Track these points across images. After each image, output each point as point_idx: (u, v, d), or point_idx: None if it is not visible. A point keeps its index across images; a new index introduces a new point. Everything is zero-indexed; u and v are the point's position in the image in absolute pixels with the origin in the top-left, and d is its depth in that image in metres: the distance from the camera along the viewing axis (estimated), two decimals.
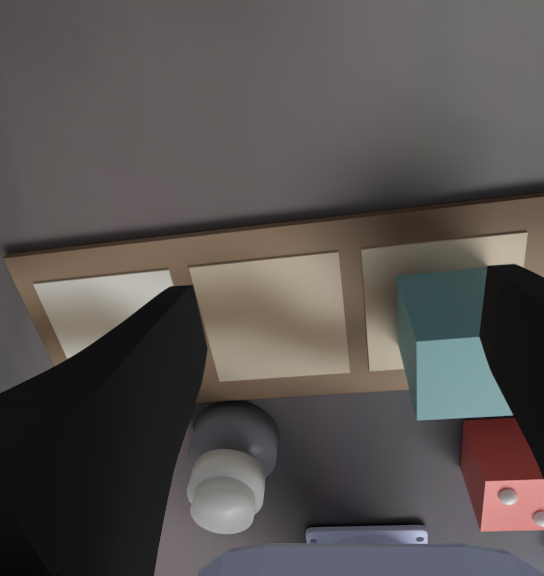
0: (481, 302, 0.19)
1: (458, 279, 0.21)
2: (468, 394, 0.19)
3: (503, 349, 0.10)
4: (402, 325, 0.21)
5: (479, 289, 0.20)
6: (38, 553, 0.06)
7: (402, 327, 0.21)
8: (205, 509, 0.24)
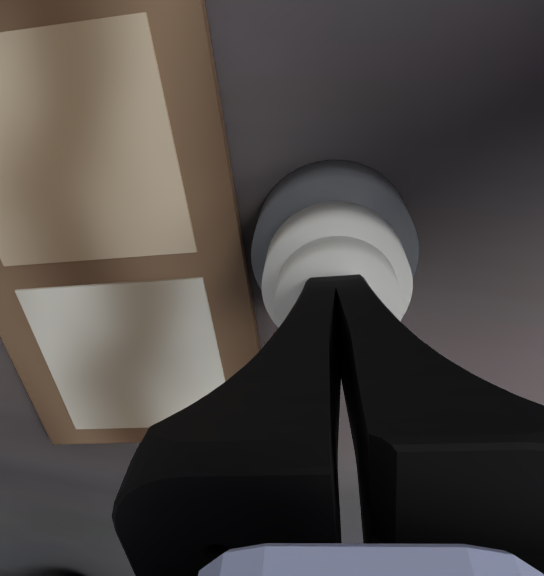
0: None
1: None
2: None
3: (341, 356, 0.11)
4: None
5: None
6: None
7: None
8: None
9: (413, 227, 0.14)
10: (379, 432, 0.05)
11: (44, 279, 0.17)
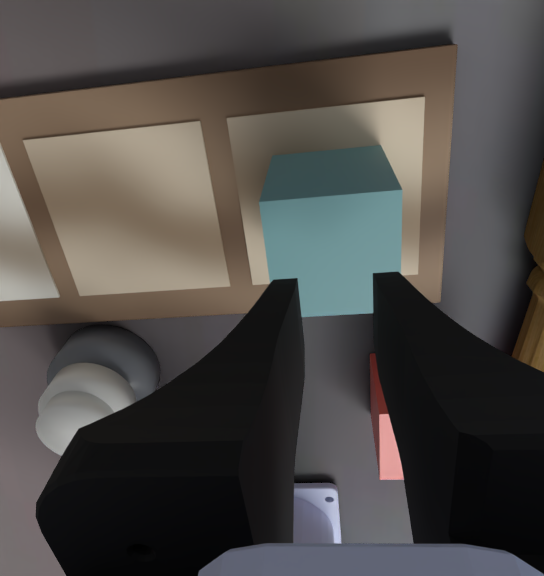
0: (356, 170, 0.15)
1: (340, 154, 0.17)
2: (333, 281, 0.15)
3: (381, 355, 0.11)
4: None
5: (360, 160, 0.16)
6: None
7: None
8: (52, 427, 0.20)
9: None
10: (469, 430, 0.05)
11: (19, 172, 0.19)
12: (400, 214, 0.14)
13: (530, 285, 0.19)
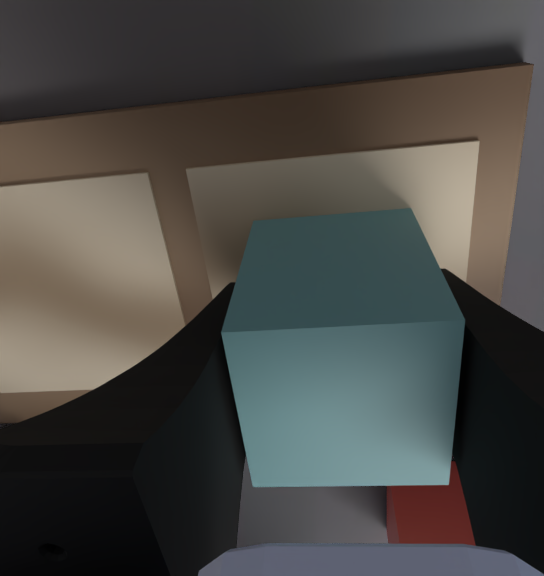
0: (379, 261, 0.10)
1: (353, 224, 0.12)
2: (344, 443, 0.09)
3: None
4: None
5: (383, 240, 0.11)
6: (162, 554, 0.06)
7: None
8: None
9: None
10: None
11: None
12: (458, 355, 0.08)
13: None
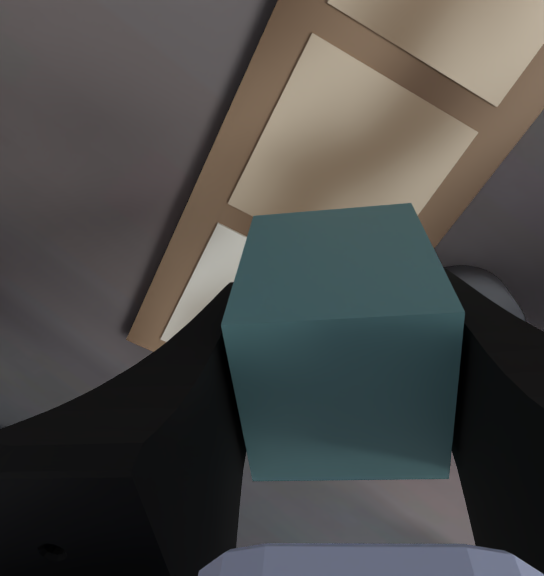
0: (379, 255, 0.10)
1: (353, 219, 0.12)
2: (343, 436, 0.09)
3: None
4: None
5: (383, 234, 0.11)
6: (161, 553, 0.06)
7: None
8: None
9: None
10: None
11: (247, 229, 0.20)
12: (458, 348, 0.08)
13: None
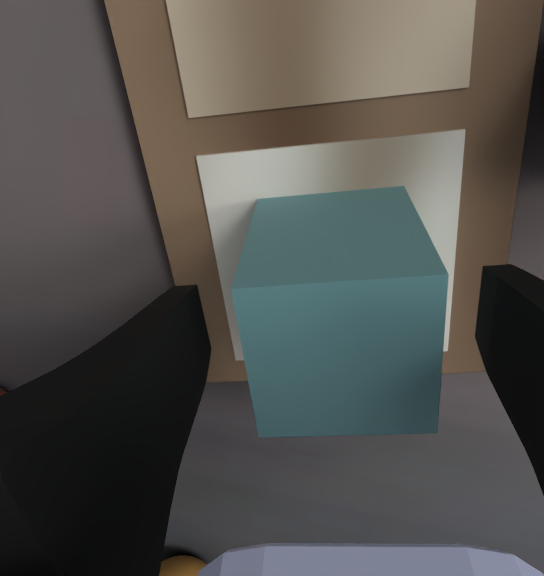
0: (374, 230, 0.11)
1: (350, 200, 0.12)
2: (341, 393, 0.10)
3: (498, 349, 0.10)
4: None
5: (378, 213, 0.11)
6: (46, 552, 0.06)
7: None
8: None
9: None
10: None
11: (239, 138, 0.13)
12: (443, 308, 0.09)
13: None
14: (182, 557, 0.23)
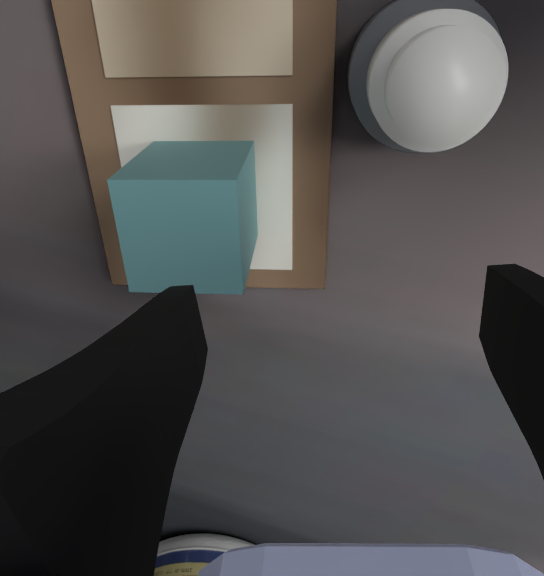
0: (213, 160, 0.16)
1: (213, 145, 0.18)
2: (180, 260, 0.16)
3: (503, 349, 0.10)
4: None
5: (224, 152, 0.17)
6: (39, 553, 0.06)
7: None
8: (426, 117, 0.14)
9: None
10: None
11: (141, 96, 0.18)
12: (236, 202, 0.15)
13: None
14: None
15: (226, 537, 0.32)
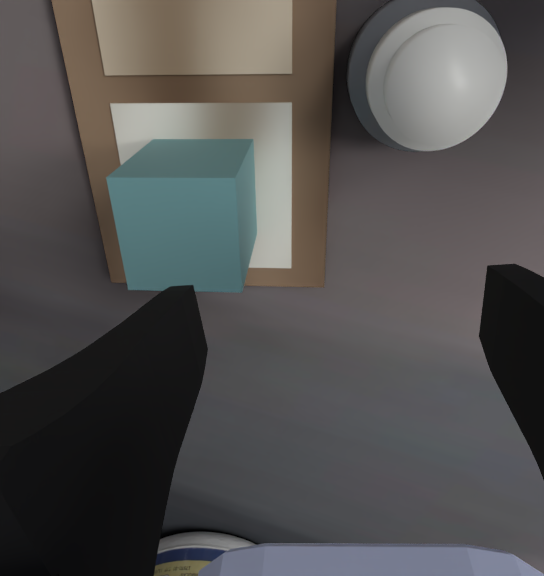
0: (213, 158, 0.16)
1: (212, 143, 0.18)
2: (179, 258, 0.16)
3: (503, 349, 0.10)
4: None
5: (223, 150, 0.17)
6: (38, 553, 0.06)
7: None
8: (425, 116, 0.14)
9: None
10: None
11: (140, 94, 0.18)
12: (235, 201, 0.15)
13: None
14: None
15: (225, 535, 0.32)
